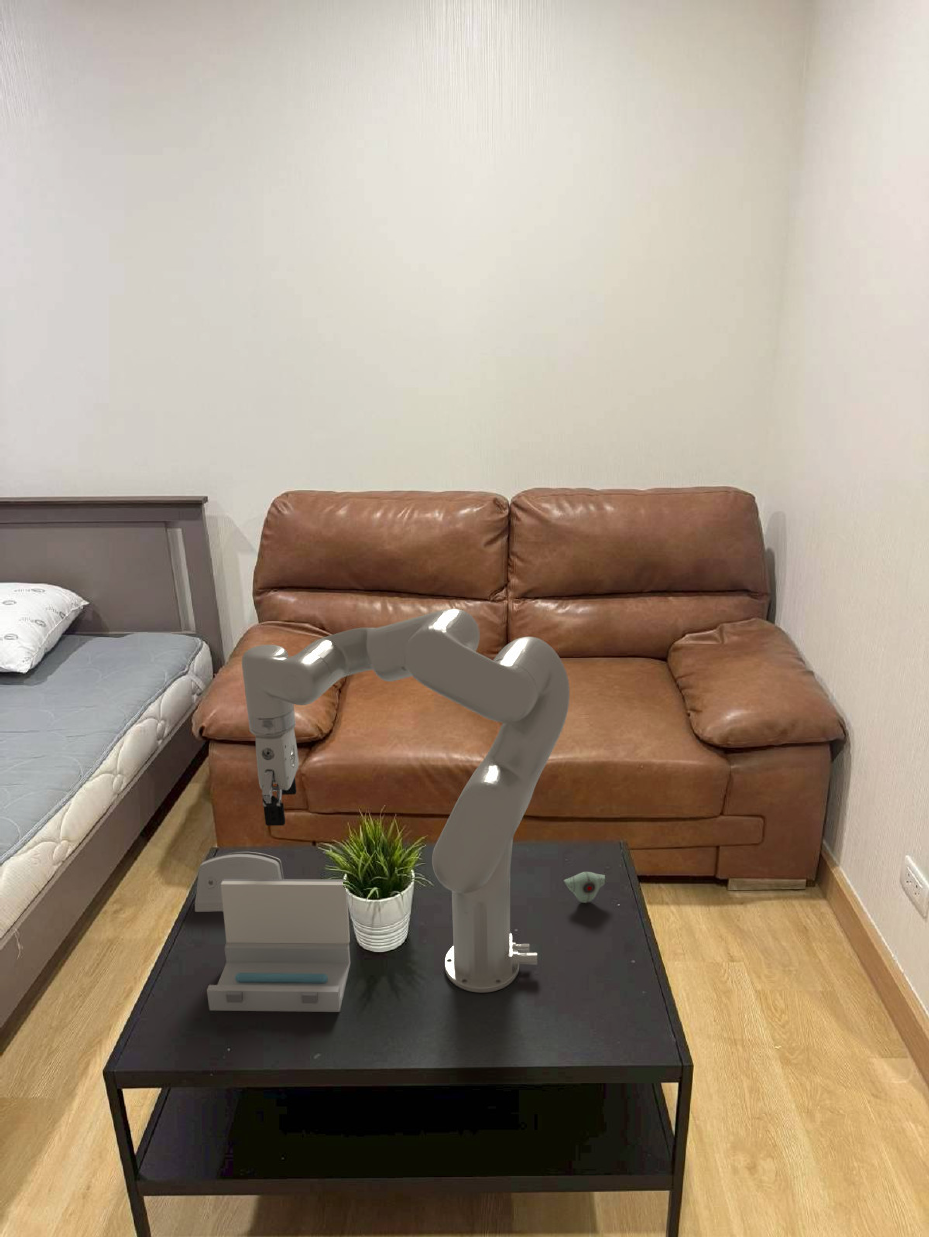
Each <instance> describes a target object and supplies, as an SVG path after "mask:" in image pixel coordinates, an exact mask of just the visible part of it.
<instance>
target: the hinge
mask: <svg viewBox="0 0 929 1237" xmlns="http://www.w3.org/2000/svg"><path fill="white" fill-rule="evenodd" d="M284 877H285V876H284V872H283V866H282V861H281V859H280V858H278V857H276V856H272V855H269V854H266V853H261V852H254V851H253V852H252V851H235V852H228V853H223V854H219V855H215V856H213V857H210V858H208V859H205V860H204V861H203V862H202V863H201V864H200V865H199V869H198V877H197V883H196V884H197V885H196V893H195V901H194V912H196V913H201V912H203V913H204V912H223V902H222V892H221V883H222V881H223V879H285V878H284Z"/></svg>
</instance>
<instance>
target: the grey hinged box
mask: <svg viewBox="0 0 929 1237" xmlns="http://www.w3.org/2000/svg"><path fill="white" fill-rule="evenodd" d="M350 953H351V952H350V943H349V944H319V943H226V942H225V946H224V954H225V961H226V963H225V965H224V967H223V970H222V972H221V975H220V978H219V980H218V981H217V984H209V985H208V987H207V988H206V995H207V1001H208V1009H209V1011H229V1012H230V1011H234V1012H236V1011H237V1012H242V1011H243V1012H248V1011H250V1012H306V1013H307V1012H320V1013H321V1012H322V1013H323V1012H324V1013H339V1012H341V1007H342V1003H343V998H344V994H345V990H346V985H347V981H348V976H349V971H350V967H351V954H350ZM238 973H302V974H326V975H327V976H328V980H327V981H326V982H325V983H289V982H237V981H236V980H235V976H236V974H238Z"/></svg>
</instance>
